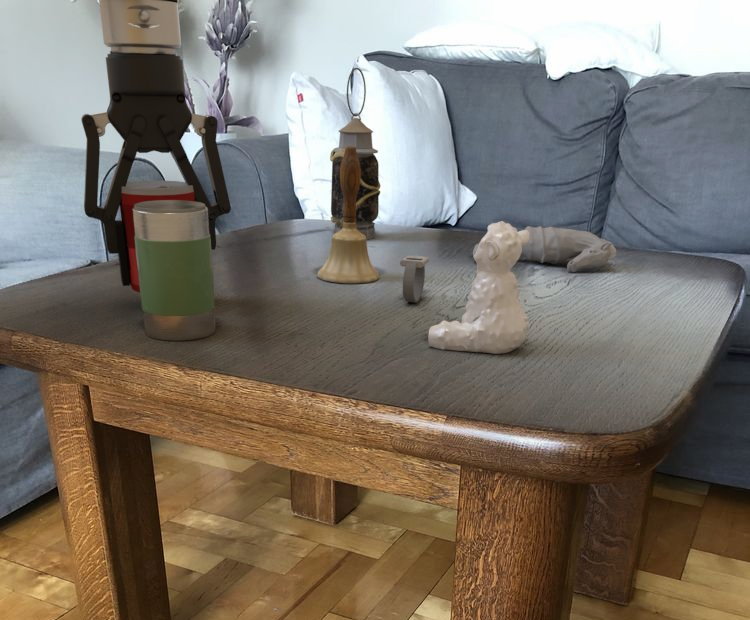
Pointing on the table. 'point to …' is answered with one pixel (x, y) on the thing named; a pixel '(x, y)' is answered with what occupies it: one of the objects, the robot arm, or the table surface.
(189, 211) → the tin can
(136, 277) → the canned food
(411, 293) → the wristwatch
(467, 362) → the table surface
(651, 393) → the table surface
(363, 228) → the lantern
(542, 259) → the seahorse
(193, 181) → the robot arm
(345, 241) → the hand bell
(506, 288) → the seated beast figurine
